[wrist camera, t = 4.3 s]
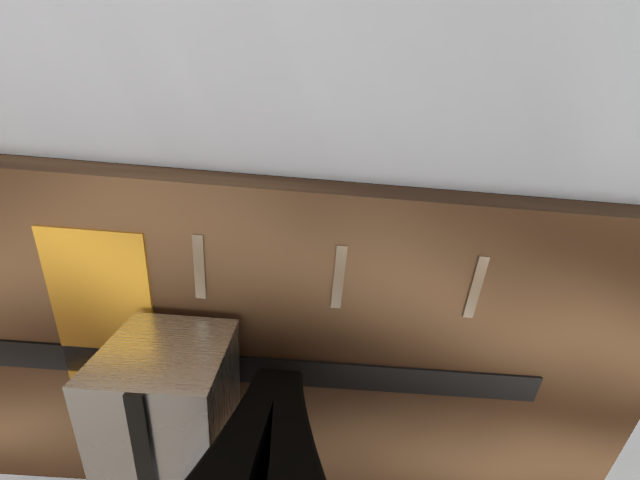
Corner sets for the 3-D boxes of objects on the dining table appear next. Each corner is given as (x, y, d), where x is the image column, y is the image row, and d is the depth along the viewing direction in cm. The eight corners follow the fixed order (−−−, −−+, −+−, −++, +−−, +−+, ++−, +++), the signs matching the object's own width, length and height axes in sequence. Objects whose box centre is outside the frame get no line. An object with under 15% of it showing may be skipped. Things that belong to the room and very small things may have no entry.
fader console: (553, 459, 15) (588, 511, 13) (-22, 423, 14) (-76, 472, 12) (676, 208, 11) (755, 228, 9) (-135, 143, 10) (-245, 149, 8)
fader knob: (240, 428, 11) (213, 530, 8) (151, 423, 11) (94, 524, 8) (238, 319, 9) (204, 401, 7) (134, 312, 9) (58, 391, 7)
